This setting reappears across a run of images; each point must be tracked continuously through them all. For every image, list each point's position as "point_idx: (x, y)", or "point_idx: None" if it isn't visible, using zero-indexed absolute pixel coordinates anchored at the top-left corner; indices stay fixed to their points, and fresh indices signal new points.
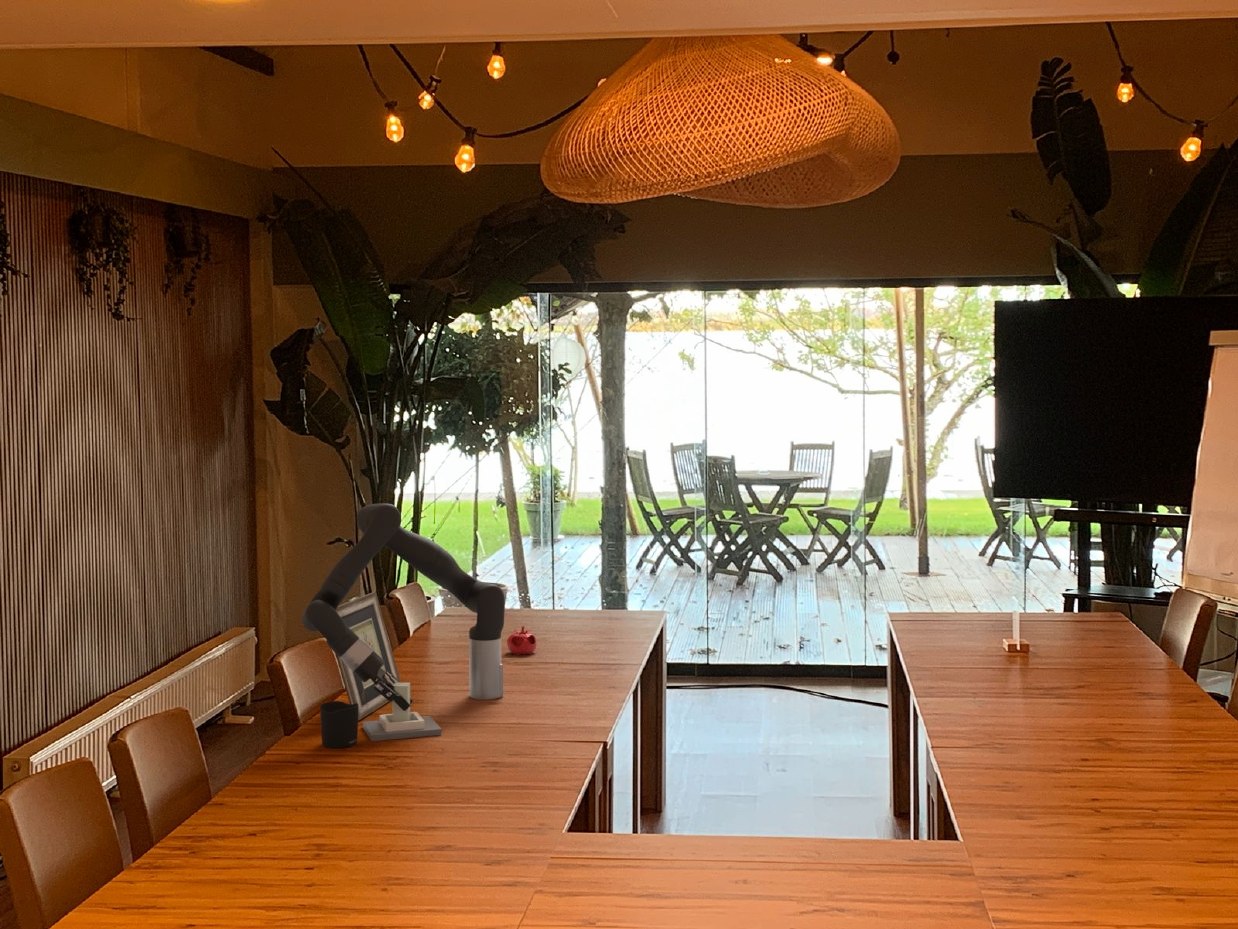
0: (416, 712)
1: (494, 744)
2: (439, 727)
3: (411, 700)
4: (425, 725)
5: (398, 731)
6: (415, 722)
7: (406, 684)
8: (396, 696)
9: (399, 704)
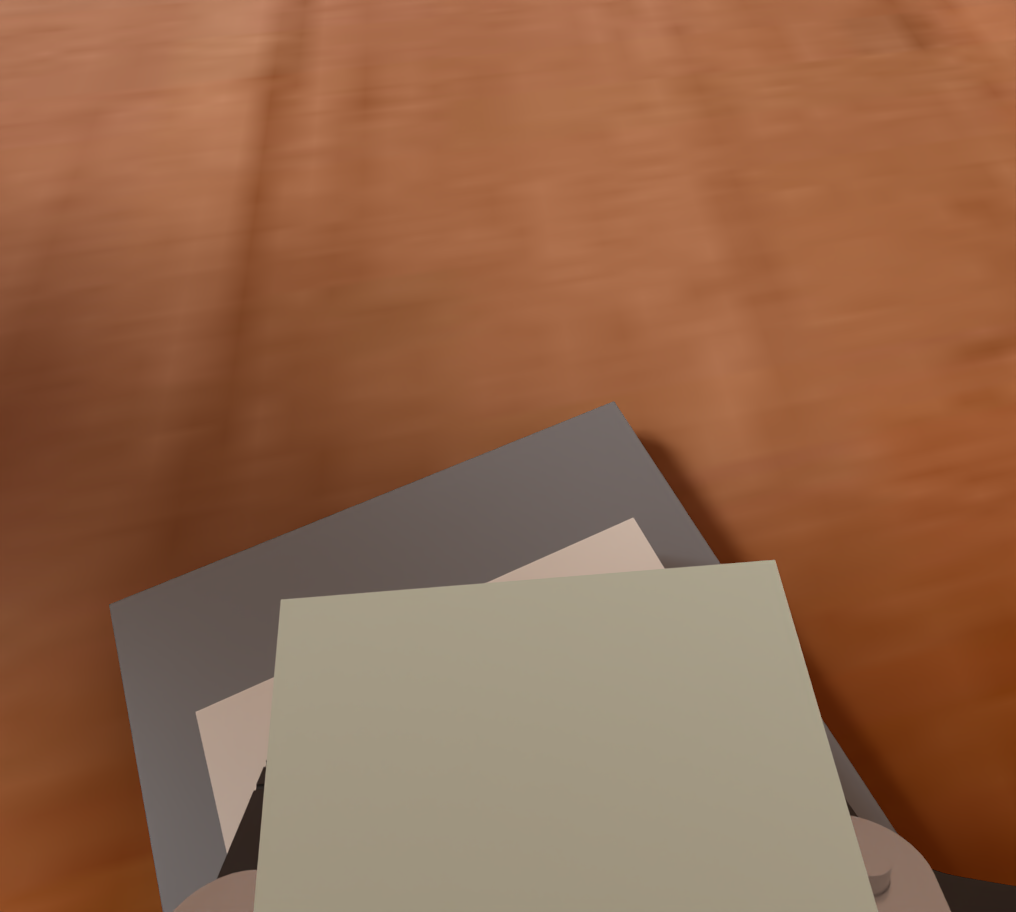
0: (239, 702)
1: (761, 117)
2: (565, 425)
3: None
4: (507, 564)
5: None
6: None
7: (559, 652)
8: (998, 891)
9: None
